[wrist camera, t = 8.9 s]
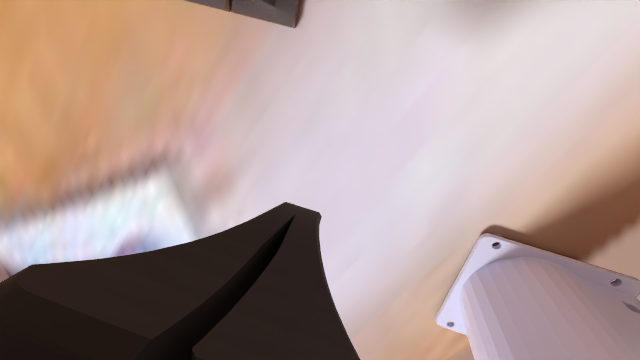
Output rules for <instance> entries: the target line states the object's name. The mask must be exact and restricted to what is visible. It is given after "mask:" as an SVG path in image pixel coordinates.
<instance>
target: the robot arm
mask: <svg viewBox="0 0 640 360" xmlns="http://www.w3.org/2000/svg"><path fill="white" fill-rule="evenodd" d="M320 220H321V215H320V213H319V212H316V211H313V210H309V209H306V208H303V207H300V206H297V205H294V204H290V203H287V202H285V203H283V204H281V205H279V206H277V207H275V208H273V209H271V210H269V211H267V212H265V213H263V214H261V215H259V216H257V217H255V218H253V219H251V220H249V221H247V222H244V223H242V224H240V225H237V226H235V227H232V228H230V229H228V230H225V231H223V232H220V233H217V234H214V235H211V236H208V237H205V238H202V239H198V240H195V241H192V242H188V243H184V244H180V245H176V246H171V247H167V248H162V249H158V250H154V251H149V252H143V253H137V254H131V255H125V256H118V257H111V258H103V259H95V260H84V261H73V262H61V263H50V264H35V265H31V266H29V267H27V268H25V269H23V270H22V271H20V272H18V273H16V274H15V275H13V276H11V277H9V278H8V279H6V280H4V281H2V282H1V283H0V360H360V358H359V356H358V354H357V352H356V350H355V349H354V347H353V345H352V343H351V341H350V339H349V337H348V335H347V332H346V330H345V328H344V326H343V323H342V321H341V319H340V317H339V314H338V312H337V310H336V307H335V305H334V302H333V299H332V296H331V293H330V290H329V287H328V283H327V280H326V276H325V272H324V268H323V263H322V258H321V251H320V242H319V224H320ZM495 242H499V244H498V245H496V246H492V244H493V243H495ZM614 279H616V280H615V281H613V282H611V281H612V280H614ZM639 294H640V281H639V280H638V279H636V278H634V277H630V276H627V275H624V274H621V273H617V272H614V271H611V270H607V269H604V268H601V267H598V266H595V265H591V264H588V263H585V262H582V261H578V260H575V259H572V258H568V257H565V256H562V255H559V254H555V253H552V252H549V251H545V250H542V249H539V248H536V247H532V246H529V245H526V244H523V243H519V242H516V241H513V240H509V239H506V238H503V237H500V236H496V235H493V234H489V233H486V234H482V235H481V236H480V237H479V238H478V240H477V242H476V244H475V246H474V247H473V249H472V251H471V253H470V255H469V257H468V258H467V260H466V262H465V264H464V266H463V267H462V269H461V271H460V273H459V275H458V277H457V278H456V280H455V282H454V284H453V286H452V288H451V289H450V291H449V293H448V295H447V297H446V299H445V300H444V302H443V304H442V306H441V308H440V309H439V311H438V313H437V315H436V322H437V324H438V325H439V326H441V327H444V328H447V329H450V330H453V331H456V332H459V333H462V334H465V335H467V336H468V339H469V343H470V346H471V349H472V353H473V356H474V359H475V360H640V301H639V300H637V299H636V297H637V296H638V295H639ZM448 322H452V323H448Z"/></svg>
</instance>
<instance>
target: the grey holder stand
mask: <svg viewBox="0 0 640 360" xmlns="http://www.w3.org/2000/svg"><path fill="white" fill-rule="evenodd" d="M299 4H300V0H232V9H231V12H233V13H236V14H240V15H244V16H248V17H252V18H256V19H260V20H264V21H268V22H272V23H276V24H280V25H284V26H288V27H292V28H295V26H296V21H297V15H298V9H299Z"/></svg>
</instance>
